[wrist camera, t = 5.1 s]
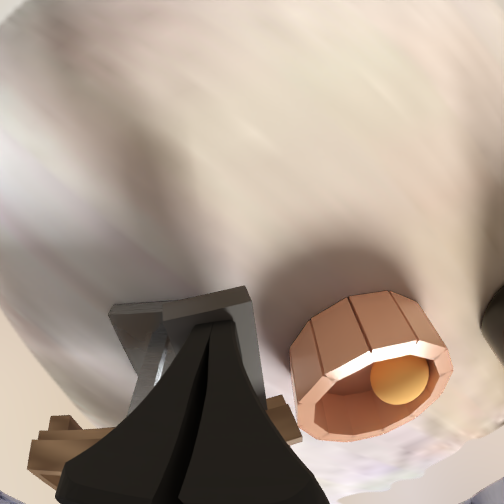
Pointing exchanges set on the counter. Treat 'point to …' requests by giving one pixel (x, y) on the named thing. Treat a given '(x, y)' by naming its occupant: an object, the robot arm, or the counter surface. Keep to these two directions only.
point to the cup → (362, 366)
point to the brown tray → (178, 328)
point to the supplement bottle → (495, 325)
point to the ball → (399, 378)
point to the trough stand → (143, 343)
